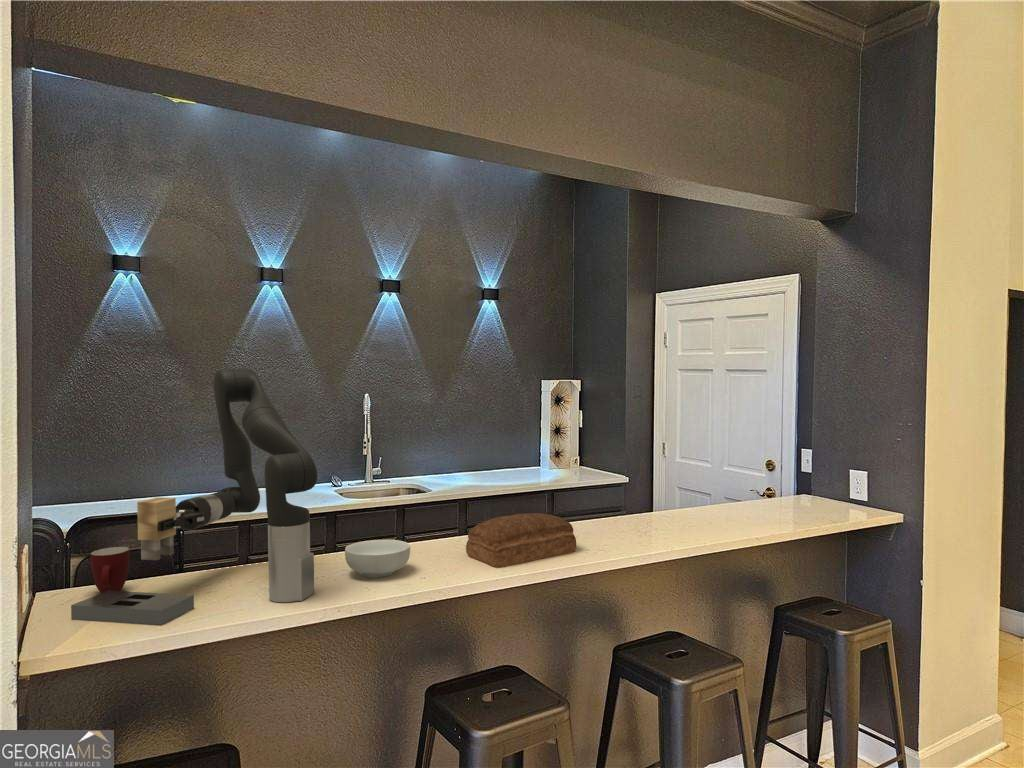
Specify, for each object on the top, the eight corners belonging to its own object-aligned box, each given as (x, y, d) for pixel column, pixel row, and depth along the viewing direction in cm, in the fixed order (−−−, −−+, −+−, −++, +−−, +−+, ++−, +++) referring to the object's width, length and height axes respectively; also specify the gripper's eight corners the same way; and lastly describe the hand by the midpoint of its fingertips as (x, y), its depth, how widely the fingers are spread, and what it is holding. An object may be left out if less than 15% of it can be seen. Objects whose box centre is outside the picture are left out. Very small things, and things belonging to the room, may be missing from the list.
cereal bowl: (420, 575, 169) (420, 548, 168) (357, 587, 160) (356, 558, 160) (396, 560, 183) (396, 535, 183) (337, 570, 175) (336, 543, 174)
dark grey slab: (193, 608, 146) (193, 595, 146) (161, 625, 136) (161, 610, 136) (108, 603, 150) (108, 590, 150) (71, 619, 141) (71, 605, 141)
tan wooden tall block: (176, 553, 153) (175, 497, 153) (157, 560, 147) (156, 502, 147) (157, 552, 154) (156, 497, 154) (138, 559, 148) (137, 502, 148)
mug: (129, 597, 154) (128, 555, 154) (88, 603, 151) (87, 559, 151) (131, 585, 164) (130, 545, 164) (92, 590, 160) (92, 549, 160)
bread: (462, 556, 187) (462, 516, 187) (545, 541, 204) (544, 504, 204) (495, 570, 173) (494, 527, 173) (580, 552, 190) (580, 513, 190)
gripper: (174, 495, 166) (120, 509, 149) (224, 497, 163) (175, 510, 146) (174, 525, 166) (121, 542, 149) (224, 527, 163) (176, 544, 146)
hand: (148, 526), depth 148 cm, fingers closed on tan wooden tall block, 5 cm apart
